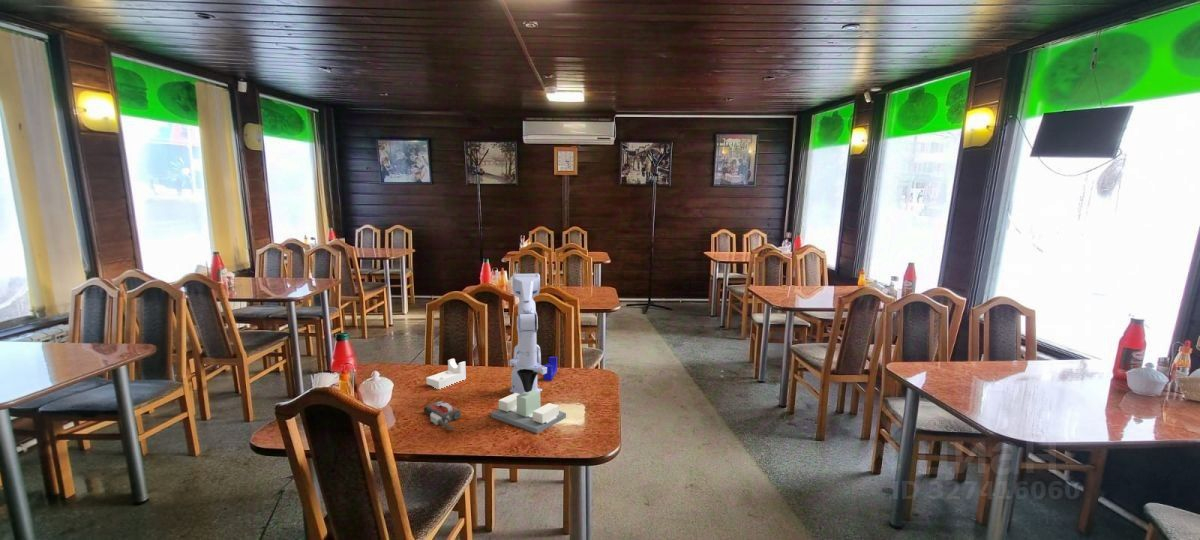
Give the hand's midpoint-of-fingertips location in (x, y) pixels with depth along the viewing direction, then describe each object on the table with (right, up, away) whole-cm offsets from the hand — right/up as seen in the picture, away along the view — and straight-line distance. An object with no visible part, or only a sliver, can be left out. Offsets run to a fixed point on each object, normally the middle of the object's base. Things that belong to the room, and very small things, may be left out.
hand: (528, 391), depth 162 cm
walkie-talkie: (-27, -10, 0) cm, 28 cm away
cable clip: (+3, -4, +40) cm, 41 cm away
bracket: (-36, -5, +31) cm, 48 cm away
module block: (0, -7, +1) cm, 7 cm away
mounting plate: (0, -9, +1) cm, 9 cm away
